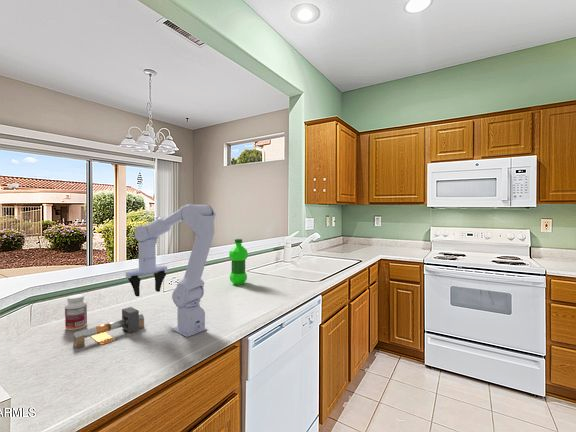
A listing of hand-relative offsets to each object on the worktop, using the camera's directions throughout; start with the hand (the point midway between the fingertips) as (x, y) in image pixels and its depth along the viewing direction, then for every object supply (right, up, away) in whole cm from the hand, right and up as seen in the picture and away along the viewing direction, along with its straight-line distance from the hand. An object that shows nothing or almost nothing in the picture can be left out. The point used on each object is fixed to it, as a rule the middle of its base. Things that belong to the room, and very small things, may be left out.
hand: (147, 293), depth 108 cm
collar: (-2, -10, -8) cm, 13 cm away
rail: (-6, -11, -13) cm, 18 cm away
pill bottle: (-22, -10, -6) cm, 25 cm away
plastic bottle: (+25, -9, +53) cm, 60 cm away
